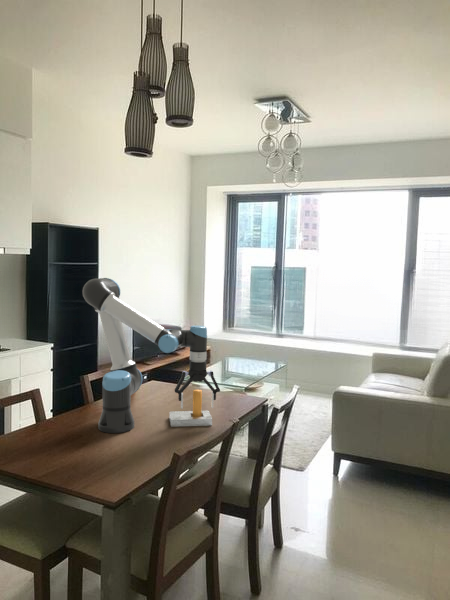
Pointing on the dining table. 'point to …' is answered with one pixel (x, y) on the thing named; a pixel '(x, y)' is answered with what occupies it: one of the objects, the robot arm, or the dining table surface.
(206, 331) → the robot arm
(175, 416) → the white peg hole block
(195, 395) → the pin
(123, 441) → the dining table surface
